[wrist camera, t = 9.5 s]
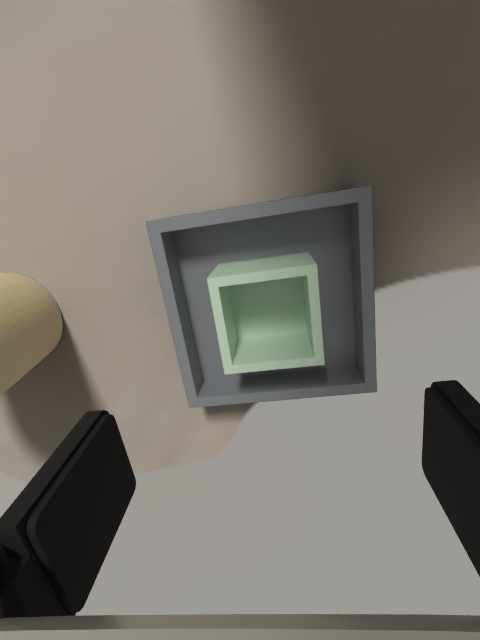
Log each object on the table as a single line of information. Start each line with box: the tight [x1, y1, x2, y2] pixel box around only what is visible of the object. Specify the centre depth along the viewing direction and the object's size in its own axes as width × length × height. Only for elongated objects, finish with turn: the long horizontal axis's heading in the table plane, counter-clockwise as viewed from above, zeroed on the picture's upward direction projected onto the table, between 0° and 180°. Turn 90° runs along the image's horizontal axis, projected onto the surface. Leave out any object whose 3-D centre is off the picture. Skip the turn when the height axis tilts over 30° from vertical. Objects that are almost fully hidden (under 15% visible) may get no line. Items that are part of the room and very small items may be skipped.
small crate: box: [207, 251, 325, 374], centre depth 23 cm, size 6×6×5 cm
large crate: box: [146, 186, 377, 408], centre depth 25 cm, size 14×14×4 cm
